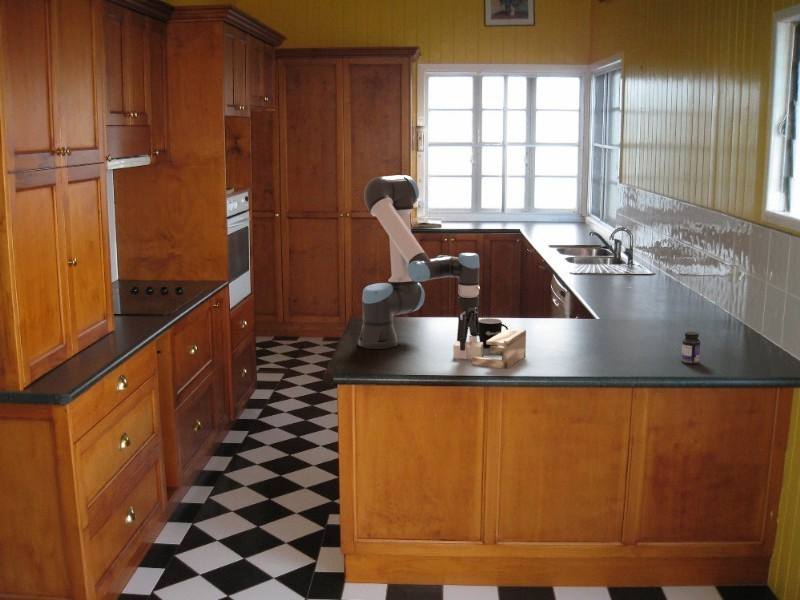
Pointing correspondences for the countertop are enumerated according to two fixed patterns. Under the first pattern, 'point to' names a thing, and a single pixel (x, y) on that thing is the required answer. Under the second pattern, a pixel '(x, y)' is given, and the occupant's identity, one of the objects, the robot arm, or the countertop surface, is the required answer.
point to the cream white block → (469, 349)
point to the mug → (489, 329)
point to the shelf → (505, 349)
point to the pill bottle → (691, 348)
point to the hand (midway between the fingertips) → (468, 355)
